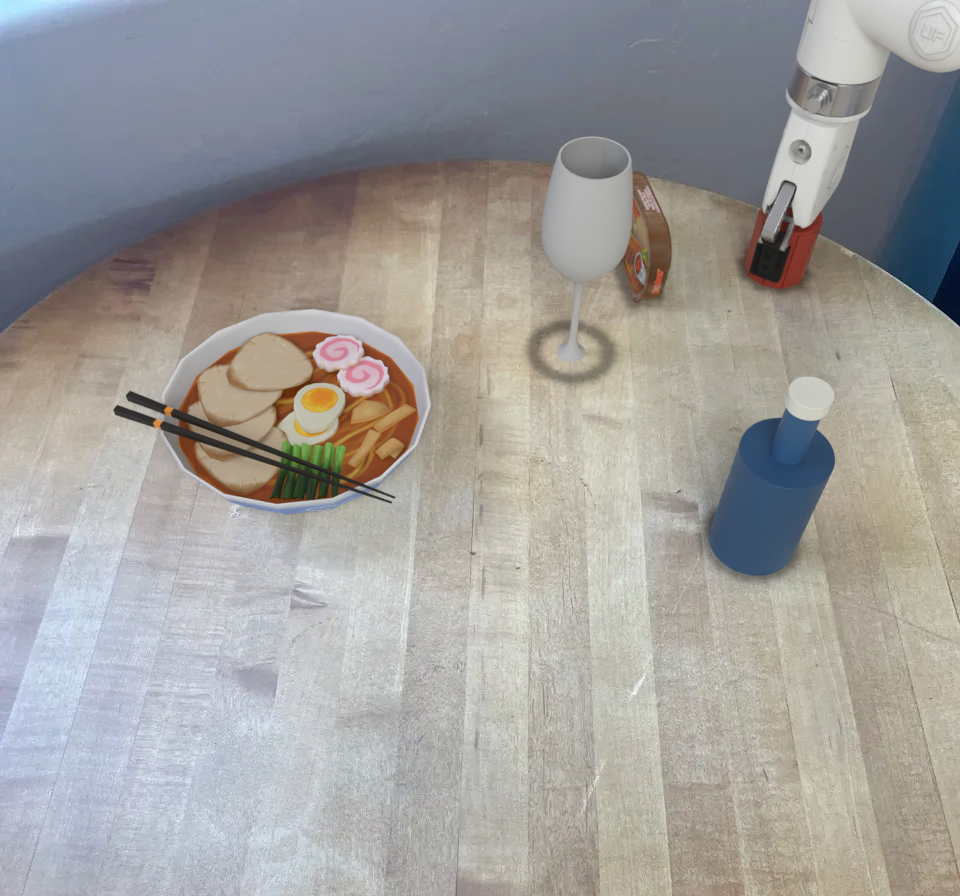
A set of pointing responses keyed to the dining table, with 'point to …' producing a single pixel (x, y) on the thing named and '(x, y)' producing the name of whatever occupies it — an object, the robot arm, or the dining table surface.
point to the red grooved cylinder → (798, 254)
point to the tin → (647, 243)
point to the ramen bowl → (292, 410)
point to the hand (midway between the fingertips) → (778, 256)
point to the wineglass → (587, 218)
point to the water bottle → (775, 483)
